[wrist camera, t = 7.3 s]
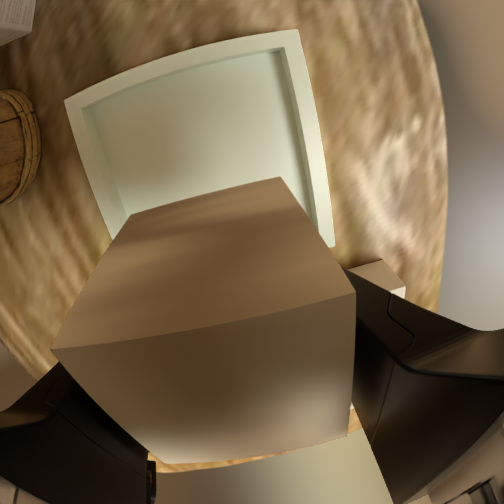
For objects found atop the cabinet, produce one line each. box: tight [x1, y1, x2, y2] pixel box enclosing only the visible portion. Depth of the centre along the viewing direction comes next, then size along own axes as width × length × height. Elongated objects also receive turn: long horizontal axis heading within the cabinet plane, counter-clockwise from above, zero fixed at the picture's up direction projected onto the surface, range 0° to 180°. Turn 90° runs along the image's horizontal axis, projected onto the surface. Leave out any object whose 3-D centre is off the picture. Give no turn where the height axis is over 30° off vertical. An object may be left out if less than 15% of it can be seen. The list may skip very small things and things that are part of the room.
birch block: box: [50, 176, 356, 464], centre depth 8 cm, size 5×5×6 cm
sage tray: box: [64, 29, 335, 248], centre depth 17 cm, size 14×14×2 cm
